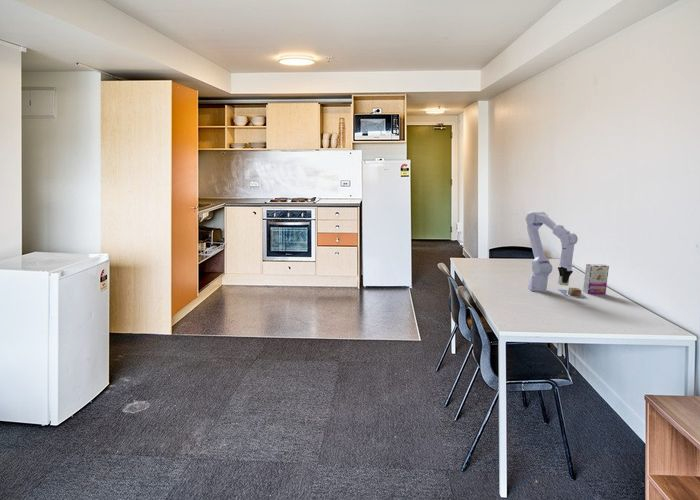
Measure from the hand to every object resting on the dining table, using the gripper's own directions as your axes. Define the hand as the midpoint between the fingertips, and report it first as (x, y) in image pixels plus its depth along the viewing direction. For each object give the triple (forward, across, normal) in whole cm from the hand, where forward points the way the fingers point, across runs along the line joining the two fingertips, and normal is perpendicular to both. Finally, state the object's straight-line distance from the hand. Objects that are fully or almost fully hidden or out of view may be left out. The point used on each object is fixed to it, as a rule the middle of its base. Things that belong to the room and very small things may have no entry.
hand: (563, 281), depth 267 cm
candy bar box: (+9, +16, -22) cm, 28 cm away
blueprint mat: (+8, +10, -8) cm, 16 cm away
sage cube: (+2, 0, 0) cm, 2 cm away
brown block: (+8, +6, -8) cm, 13 cm away
